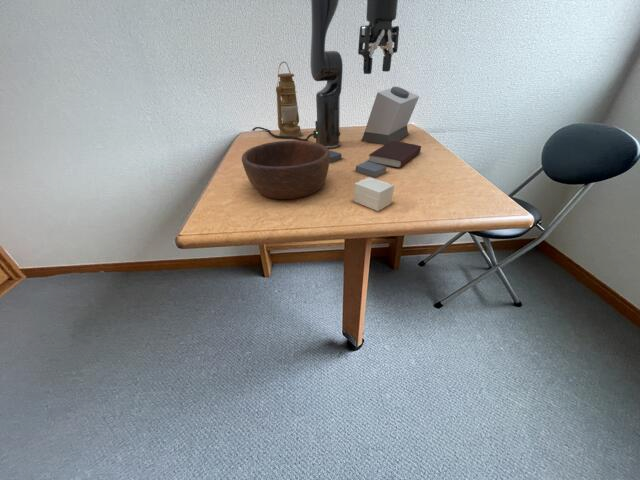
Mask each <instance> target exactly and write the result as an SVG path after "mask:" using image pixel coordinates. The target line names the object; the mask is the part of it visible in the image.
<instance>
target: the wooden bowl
mask: <svg viewBox="0 0 640 480" xmlns="http://www.w3.org/2000/svg"><path fill="white" fill-rule="evenodd" d="M329 150H330V148H327V147H325V146H324V145H322V144H319V143H316V141H315V142H314V141H308V140H306V141H302V140H281V141H272V142H271V141H270V142H266V143H262V144H259V145H256V146H253V147H250V148H249V149H247V150H246V151H245V152H243V154H242V156H241V163H242V166H243V168H244V172H245V175H246V178H247V180H248V181H249V184H250V185H251V186H252V188H254V190H255V191H256V192H257V193H258V194H260V195H262V196H263V197H266V198H270V199H273V200H295V199H299V198H300V199H301V198H304V197H308V196H310V195H313V194H315V193H316V192H317V191H319V190H320V189H321V188H322V187H323V185H324V183H325V181H326V179H327V176H328V172H329V167H330V163H329V161H330V151H331V150H330V151H329Z"/></svg>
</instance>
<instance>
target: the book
mask: <svg viewBox="0 0 640 480" xmlns="http://www.w3.org/2000/svg"><path fill="white" fill-rule="evenodd" d="M421 149H422V146H421V145H418V144H414V143H408V142H403V141H390V142H388V143H387V144H383V145H382V146H381V147H379V148H377V149H376V150H374V151H372V152H371V153H369V154H368V156H369V159H368V161H369V162H372V163H376V164H379V165H383V166H386V167H393V168H398V169H399V168H402V167H403V166H405V164H406V163H408V162H410V161H411V160H412V159H414V158H415V157H416V156H418V155H419V154H420V152H421Z"/></svg>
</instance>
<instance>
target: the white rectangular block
mask: <svg viewBox="0 0 640 480" xmlns="http://www.w3.org/2000/svg"><path fill="white" fill-rule="evenodd" d="M393 195H394V192H393V193H391V194H389V195H387V196H385V197H384V198H382V199H380V200H378V199H376V198H373V197H370V196H368V195H365V194H363V193H360V192H357V191H355V190H354V192H353V202H355V203H357V204H359V205H362V206H365V207H367V208H369V209H372V210H374V211H376V212H379V211H381V210H383V209H384V208H386V207H388V206H389V205H392V202H393V197H394V196H393Z"/></svg>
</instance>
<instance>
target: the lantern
mask: <svg viewBox="0 0 640 480" xmlns="http://www.w3.org/2000/svg"><path fill="white" fill-rule="evenodd" d="M284 63H285V65H286V66H287V69H288V72H285V73H280V68H281V65H282V64H284ZM294 77H295V74H294V73H291V70H290V66H289V64H288V62H287V61H281V62H280V63H279V65H278V70H277V78H278V82H276V83H277V85H276V87H275V92H276V111H277V128H278V130H279V136H292V137H298V138H300V137H301V136H302V131H301V126H300V125H299V123H300V116H299V106H298V100H297V93H298V92H297V90H296V83H295V80H294Z"/></svg>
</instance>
